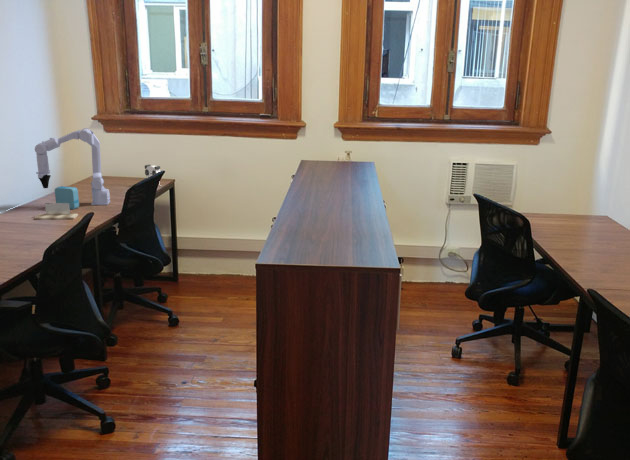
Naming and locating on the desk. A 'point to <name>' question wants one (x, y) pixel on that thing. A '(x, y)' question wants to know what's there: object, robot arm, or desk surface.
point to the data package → (67, 196)
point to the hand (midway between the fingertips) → (45, 188)
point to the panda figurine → (151, 170)
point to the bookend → (56, 212)
